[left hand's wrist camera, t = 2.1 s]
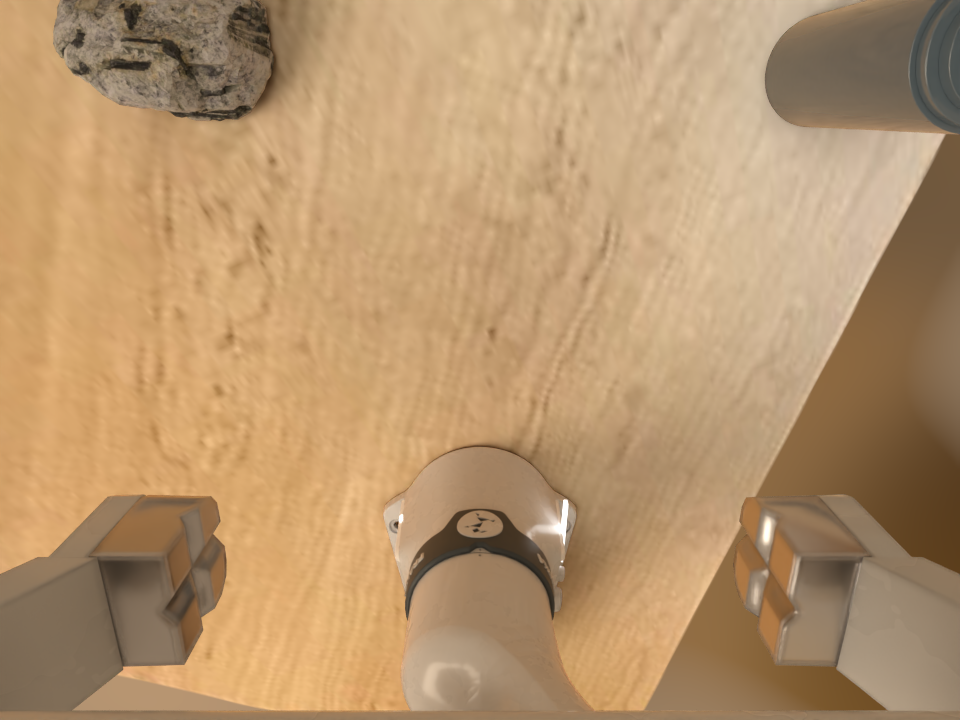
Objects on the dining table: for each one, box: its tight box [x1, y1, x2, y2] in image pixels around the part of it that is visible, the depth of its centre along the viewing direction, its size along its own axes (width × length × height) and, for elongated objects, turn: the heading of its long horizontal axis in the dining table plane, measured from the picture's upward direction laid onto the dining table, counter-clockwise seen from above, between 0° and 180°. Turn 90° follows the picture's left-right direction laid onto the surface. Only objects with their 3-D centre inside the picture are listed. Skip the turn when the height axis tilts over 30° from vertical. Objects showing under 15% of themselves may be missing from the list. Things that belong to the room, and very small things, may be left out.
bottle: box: [765, 0, 960, 134], centre depth 41 cm, size 8×8×25 cm
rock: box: [53, 0, 274, 121], centre depth 48 cm, size 15×10×7 cm
